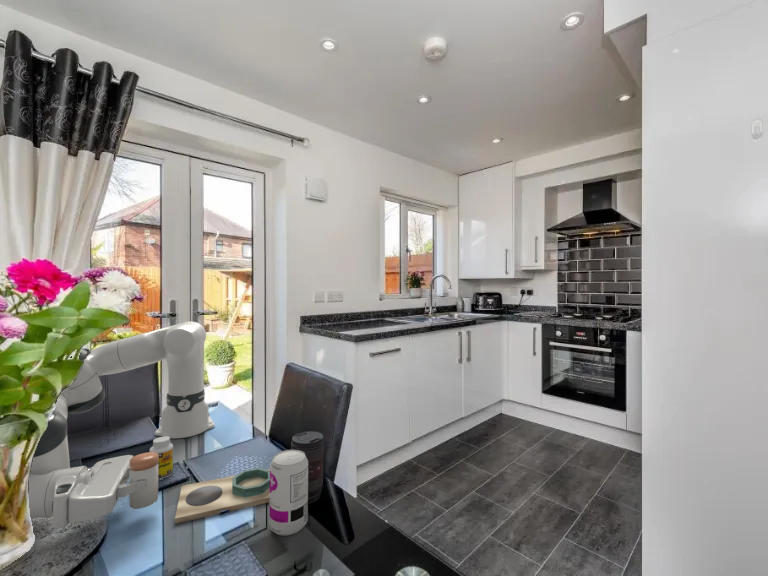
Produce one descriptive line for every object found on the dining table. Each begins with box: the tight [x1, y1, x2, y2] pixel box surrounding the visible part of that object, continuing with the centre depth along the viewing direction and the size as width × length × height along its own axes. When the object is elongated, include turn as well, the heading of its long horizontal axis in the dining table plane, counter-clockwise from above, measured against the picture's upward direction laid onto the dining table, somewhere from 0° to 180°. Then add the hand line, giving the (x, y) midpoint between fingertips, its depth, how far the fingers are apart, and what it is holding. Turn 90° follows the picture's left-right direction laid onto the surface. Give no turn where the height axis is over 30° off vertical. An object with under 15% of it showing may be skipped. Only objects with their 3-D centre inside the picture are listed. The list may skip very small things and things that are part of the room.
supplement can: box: [268, 449, 309, 536], centre depth 79 cm, size 8×8×15 cm
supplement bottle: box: [149, 436, 174, 481], centre depth 98 cm, size 6×6×10 cm
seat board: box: [174, 467, 270, 525], centre depth 89 cm, size 14×22×3 cm, turn 114°
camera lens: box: [290, 430, 325, 504], centre depth 89 cm, size 8×8×15 cm
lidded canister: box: [129, 452, 159, 510], centre depth 81 cm, size 6×6×10 cm
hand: (148, 476), depth 81 cm, fingers closed on lidded canister, 5 cm apart
